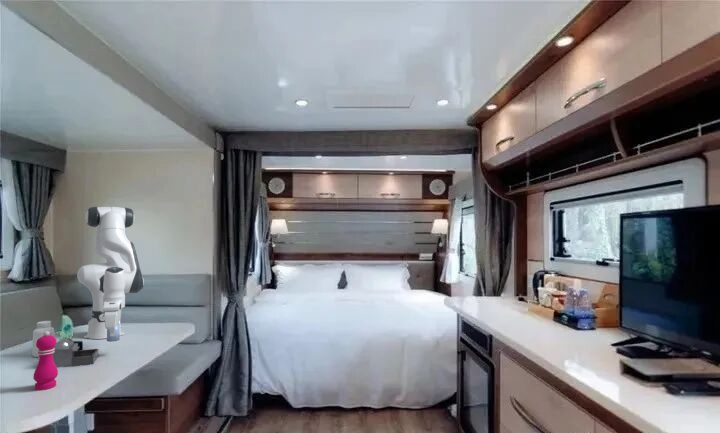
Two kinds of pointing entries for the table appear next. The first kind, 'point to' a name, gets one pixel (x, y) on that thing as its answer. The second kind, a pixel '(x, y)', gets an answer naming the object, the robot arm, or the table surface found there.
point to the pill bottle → (41, 334)
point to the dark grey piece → (72, 354)
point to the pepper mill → (45, 363)
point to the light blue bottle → (116, 336)
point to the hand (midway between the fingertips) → (113, 334)
